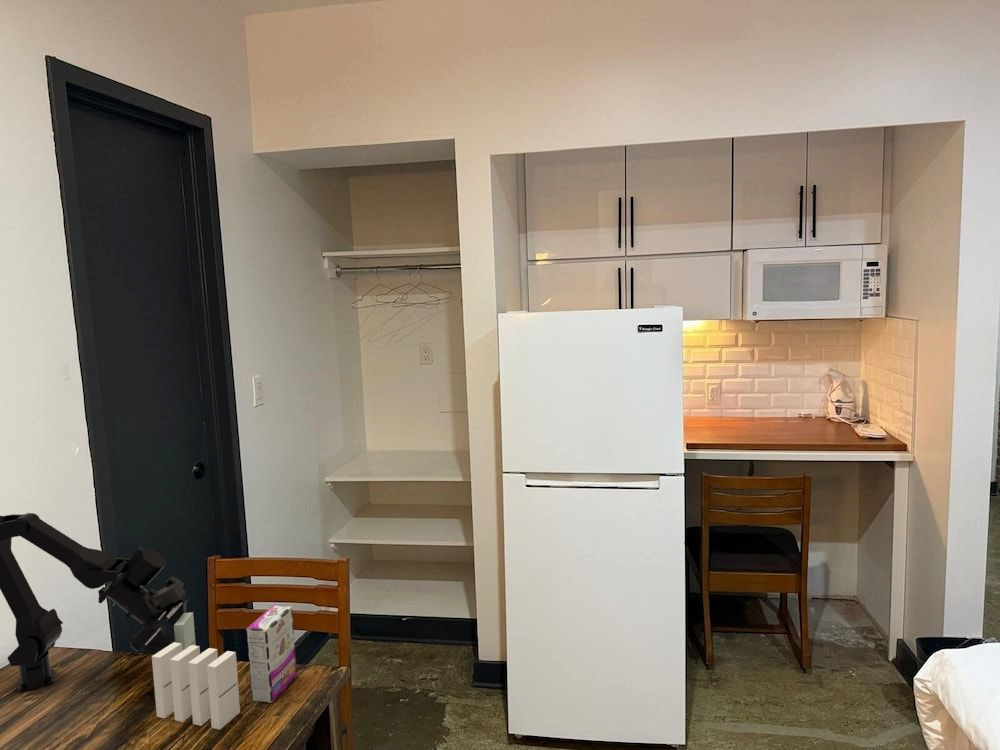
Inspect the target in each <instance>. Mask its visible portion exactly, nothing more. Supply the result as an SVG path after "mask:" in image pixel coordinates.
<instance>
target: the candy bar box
mask: <svg viewBox="0 0 1000 750" xmlns="http://www.w3.org/2000/svg"><path fill="white" fill-rule="evenodd" d="M294 630H295V629H294V619H293V607H292V606H290V605H289V606H287V605H277V604H274V605H271V607H269V608H268V609H267V610H266V611H265V612H263V613H262V614H261V616H259V617H258V618H257V619H256V620H255V621H253V623H251V624H250V625H249V626H248V627H247V628H246V638H247V651H248V659H249V660H248V662H249V672H250V674H249V675H250V684H251V697H252V702H257V703H267V704H268V703H269V704H272V703H274V702H275V701H276V700H277V698H278V697H279V696H281V694H282V692H284V691H285V689H286V688H287V687H288V686H289V685H290V684H291V683H292V681H293V680H294V679H295V678H296V677H297V676H298V673H297V671H298V668H297V659H296V658H297V657H296V644H295V632H294Z"/></svg>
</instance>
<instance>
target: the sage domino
mask: <svg viewBox="0 0 1000 750" xmlns="http://www.w3.org/2000/svg"><path fill="white" fill-rule="evenodd" d="M194 620H195V619H194V612H187V613H184V614H183V615H182V616H181V617H180V619H179V620H178V621H177V622H176V623H175V625H174V626H173V630H174V631H173V633H174V642H176V643H182V650H185V649H186V648H188V647H189V646H191V645H195V646H197V645H196V634H195V631H194V625H195V621H194Z"/></svg>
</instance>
